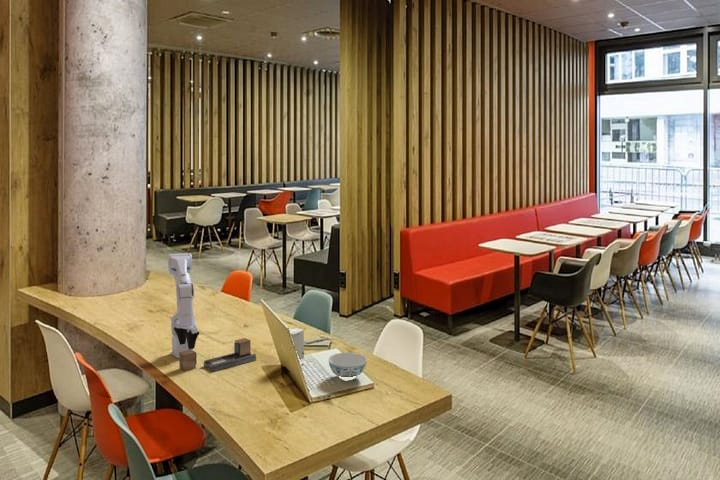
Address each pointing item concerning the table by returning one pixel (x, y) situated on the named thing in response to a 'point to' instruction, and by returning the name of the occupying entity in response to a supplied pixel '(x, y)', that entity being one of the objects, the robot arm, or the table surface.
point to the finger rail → (232, 357)
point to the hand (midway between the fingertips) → (187, 346)
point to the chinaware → (347, 364)
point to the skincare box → (298, 341)
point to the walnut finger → (187, 360)
